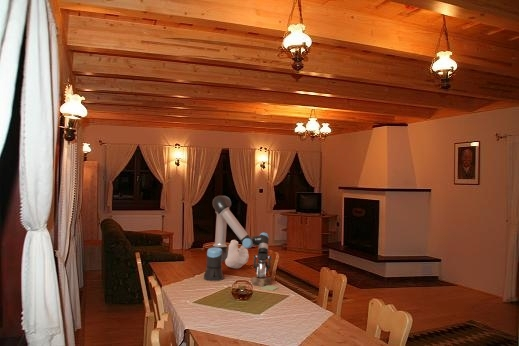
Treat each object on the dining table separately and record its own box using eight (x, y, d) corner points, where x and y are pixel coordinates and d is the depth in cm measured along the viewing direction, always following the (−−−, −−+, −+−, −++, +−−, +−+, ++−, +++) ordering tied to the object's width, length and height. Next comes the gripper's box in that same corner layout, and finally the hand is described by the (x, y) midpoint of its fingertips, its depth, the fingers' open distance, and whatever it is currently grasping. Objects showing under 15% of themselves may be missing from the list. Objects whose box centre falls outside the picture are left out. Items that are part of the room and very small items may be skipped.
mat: (260, 288, 291) (260, 287, 291) (266, 286, 300) (267, 285, 300) (273, 290, 286) (273, 289, 286) (279, 288, 295) (279, 287, 295)
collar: (251, 284, 302) (251, 277, 303) (258, 282, 312) (258, 275, 312) (264, 286, 297) (264, 279, 297) (270, 284, 307) (271, 277, 307)
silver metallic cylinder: (254, 284, 303) (255, 260, 304) (259, 283, 309) (260, 259, 310) (262, 285, 300) (263, 261, 301) (267, 284, 306) (268, 260, 307)
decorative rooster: (221, 266, 370) (223, 239, 371) (236, 265, 379) (237, 238, 380) (236, 271, 349) (237, 242, 351) (251, 270, 358) (252, 242, 360)
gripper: (274, 253, 320) (273, 279, 303) (251, 252, 322) (249, 277, 304) (274, 247, 315) (273, 273, 298) (251, 246, 316) (248, 272, 299)
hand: (261, 275), depth 301 cm, fingers closed on silver metallic cylinder, 5 cm apart
